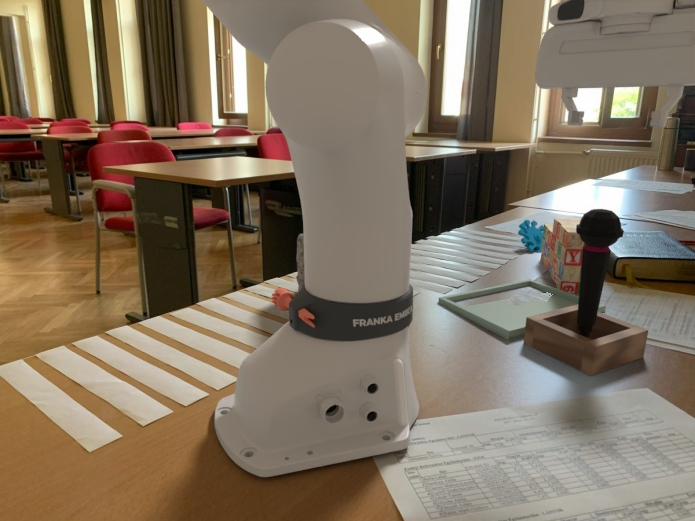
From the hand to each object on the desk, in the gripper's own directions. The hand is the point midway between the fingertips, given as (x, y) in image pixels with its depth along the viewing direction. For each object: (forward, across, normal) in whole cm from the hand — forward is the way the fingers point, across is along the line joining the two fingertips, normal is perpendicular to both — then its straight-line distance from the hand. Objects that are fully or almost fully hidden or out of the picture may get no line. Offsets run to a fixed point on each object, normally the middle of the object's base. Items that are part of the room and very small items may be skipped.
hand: (614, 126), depth 64 cm
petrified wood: (+31, +38, +6) cm, 49 cm away
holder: (+30, 0, 0) cm, 30 cm away
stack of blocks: (+31, +12, -32) cm, 46 cm away
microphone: (+31, 0, 0) cm, 31 cm away
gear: (+32, +22, -47) cm, 61 cm away
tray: (+30, +13, -9) cm, 34 cm away
